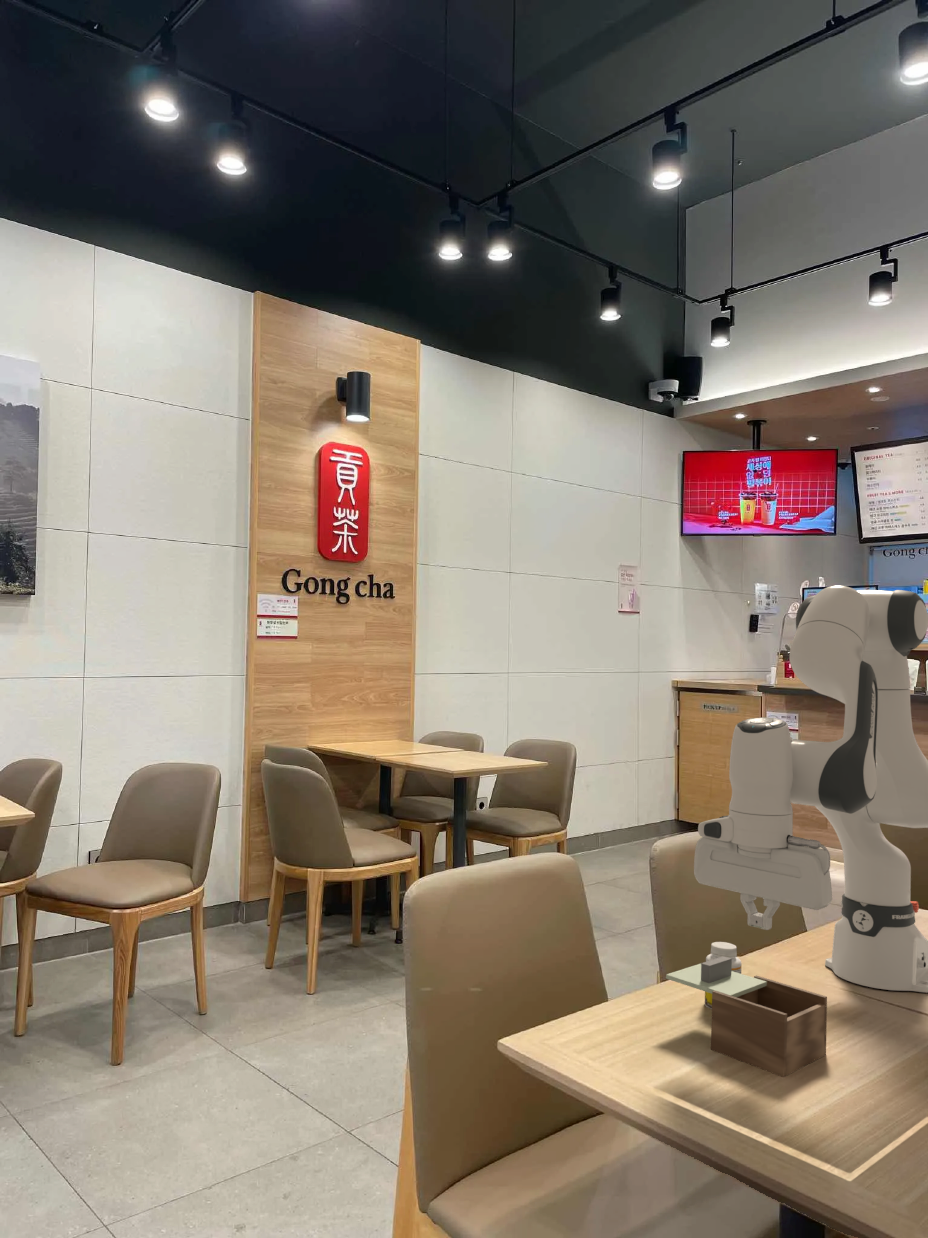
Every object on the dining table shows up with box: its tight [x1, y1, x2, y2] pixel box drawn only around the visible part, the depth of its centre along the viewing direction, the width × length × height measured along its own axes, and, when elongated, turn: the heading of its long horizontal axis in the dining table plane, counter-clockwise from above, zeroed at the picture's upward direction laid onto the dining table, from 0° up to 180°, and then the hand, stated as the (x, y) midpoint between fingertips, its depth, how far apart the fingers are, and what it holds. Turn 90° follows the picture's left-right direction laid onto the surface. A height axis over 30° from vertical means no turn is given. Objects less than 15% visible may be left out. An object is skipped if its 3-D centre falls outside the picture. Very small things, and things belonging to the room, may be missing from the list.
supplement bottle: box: [704, 941, 742, 1010], centre depth 146 cm, size 6×6×10 cm
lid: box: [665, 956, 767, 997], centre depth 135 cm, size 10×11×3 cm
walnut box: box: [710, 975, 828, 1078], centre depth 128 cm, size 12×11×9 cm
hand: (759, 927), depth 131 cm, fingers closed
